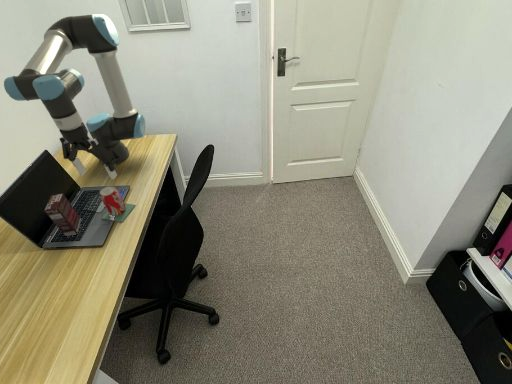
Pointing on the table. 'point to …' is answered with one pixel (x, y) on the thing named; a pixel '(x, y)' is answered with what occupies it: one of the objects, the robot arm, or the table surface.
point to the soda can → (112, 200)
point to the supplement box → (63, 214)
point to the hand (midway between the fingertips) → (98, 175)
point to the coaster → (122, 216)
